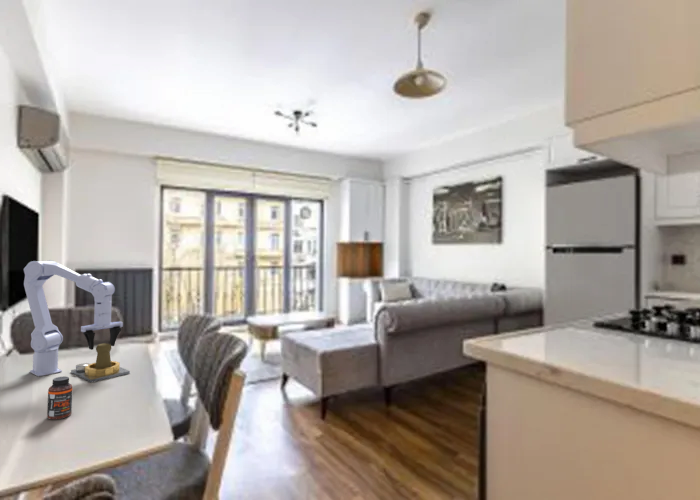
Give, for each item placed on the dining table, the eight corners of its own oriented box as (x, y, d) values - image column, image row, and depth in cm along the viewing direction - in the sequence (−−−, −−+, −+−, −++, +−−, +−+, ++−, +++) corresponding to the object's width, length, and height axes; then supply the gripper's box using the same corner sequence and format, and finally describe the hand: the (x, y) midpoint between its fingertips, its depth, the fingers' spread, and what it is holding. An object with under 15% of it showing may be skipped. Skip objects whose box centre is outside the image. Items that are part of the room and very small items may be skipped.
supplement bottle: (52, 422, 116) (53, 383, 116) (43, 417, 119) (44, 378, 119) (75, 415, 121) (76, 377, 121) (66, 410, 124) (67, 373, 124)
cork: (104, 374, 156) (104, 346, 155) (90, 373, 156) (90, 345, 156) (115, 370, 162) (116, 342, 161) (102, 368, 162) (102, 341, 162)
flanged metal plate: (71, 372, 160) (71, 363, 160) (108, 364, 171) (109, 356, 171) (90, 382, 149) (90, 373, 149) (129, 373, 161) (129, 364, 161)
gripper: (86, 316, 151) (85, 352, 151) (126, 312, 163) (125, 345, 163) (78, 314, 156) (78, 349, 156) (118, 310, 167) (117, 342, 167)
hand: (101, 347), depth 160 cm, fingers open, 7 cm apart
